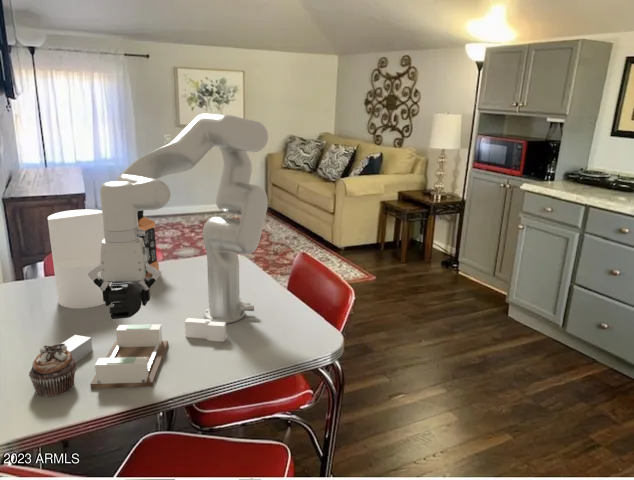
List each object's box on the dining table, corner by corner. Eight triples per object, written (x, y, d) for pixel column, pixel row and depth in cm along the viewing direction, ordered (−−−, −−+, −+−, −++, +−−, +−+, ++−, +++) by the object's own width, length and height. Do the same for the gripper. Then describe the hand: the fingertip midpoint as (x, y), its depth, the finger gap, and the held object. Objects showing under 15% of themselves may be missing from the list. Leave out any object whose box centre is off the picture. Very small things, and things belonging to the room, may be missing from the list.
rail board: (168, 344, 134) (167, 340, 134) (152, 386, 115) (152, 382, 115) (115, 345, 132) (114, 341, 132) (90, 388, 113) (90, 384, 113)
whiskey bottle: (160, 270, 188) (155, 188, 179) (144, 279, 179) (138, 193, 170) (137, 266, 191) (131, 186, 182) (120, 275, 182) (113, 190, 172)
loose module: (92, 351, 130) (91, 337, 129) (71, 366, 122) (69, 352, 121) (76, 348, 131) (75, 334, 130) (54, 363, 124) (52, 349, 122)
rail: (161, 340, 133) (161, 338, 133) (145, 382, 114) (145, 379, 114) (121, 341, 132) (120, 339, 132) (97, 383, 113) (97, 380, 113)
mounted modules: (162, 340, 133) (161, 323, 132) (145, 382, 114) (144, 362, 113) (120, 341, 132) (119, 324, 131) (97, 383, 113) (94, 364, 112)
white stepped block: (174, 337, 139) (173, 319, 137) (207, 324, 147) (207, 307, 145) (205, 357, 129) (204, 337, 128) (239, 342, 138) (238, 324, 136)
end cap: (142, 317, 116) (140, 291, 114) (110, 320, 114) (107, 293, 112) (144, 300, 125) (142, 275, 123) (114, 303, 123) (111, 278, 121)
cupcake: (30, 382, 115) (24, 344, 112) (75, 371, 120) (71, 335, 117) (32, 404, 107) (26, 364, 104) (81, 391, 112) (76, 353, 109)
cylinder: (51, 295, 162) (41, 213, 154) (105, 283, 173) (97, 207, 165) (67, 313, 150) (56, 225, 142) (123, 299, 161) (116, 217, 153)
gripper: (163, 230, 118) (166, 297, 123) (88, 230, 116) (95, 297, 121) (156, 239, 111) (160, 309, 116) (76, 239, 109) (84, 310, 114)
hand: (127, 303), depth 119 cm, fingers closed on end cap, 8 cm apart
